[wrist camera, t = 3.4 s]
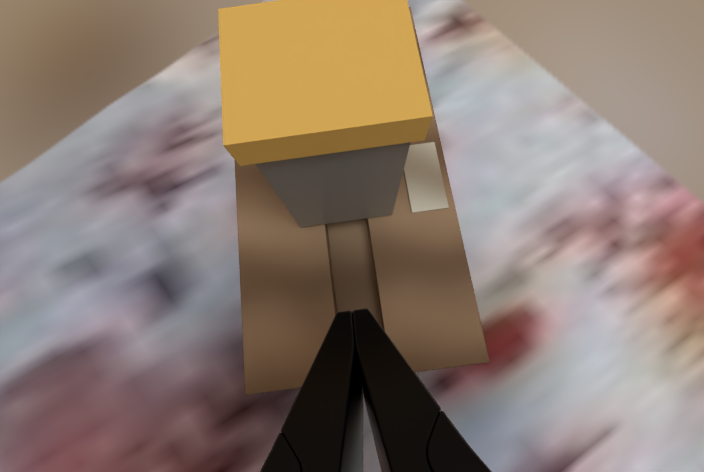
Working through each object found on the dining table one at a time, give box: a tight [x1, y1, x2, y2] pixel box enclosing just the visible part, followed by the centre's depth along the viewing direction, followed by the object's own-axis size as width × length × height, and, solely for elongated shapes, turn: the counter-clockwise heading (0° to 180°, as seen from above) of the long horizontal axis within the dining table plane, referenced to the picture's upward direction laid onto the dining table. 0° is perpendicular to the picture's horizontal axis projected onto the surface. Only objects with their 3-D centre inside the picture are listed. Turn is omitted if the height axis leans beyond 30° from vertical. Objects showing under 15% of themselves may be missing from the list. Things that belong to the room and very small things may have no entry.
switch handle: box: [218, 0, 433, 227], centre depth 15 cm, size 5×6×11 cm
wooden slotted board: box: [235, 7, 489, 395], centre depth 20 cm, size 22×12×3 cm, turn 8°
